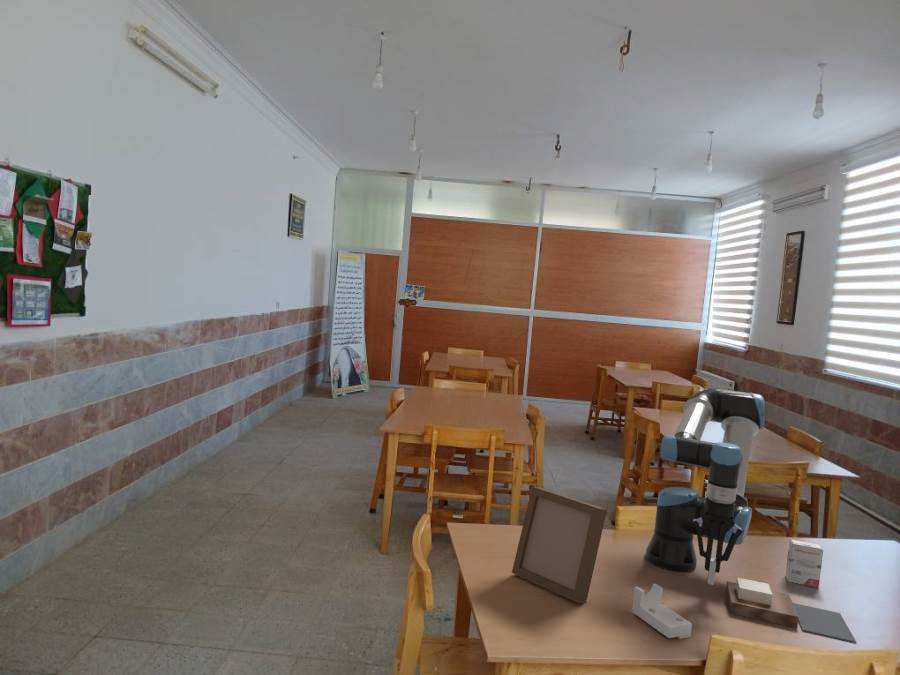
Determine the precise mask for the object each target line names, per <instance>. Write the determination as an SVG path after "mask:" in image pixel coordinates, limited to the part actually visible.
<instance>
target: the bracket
mask: <svg viewBox="0 0 900 675" xmlns="http://www.w3.org/2000/svg"><path fill="white" fill-rule="evenodd" d="M633 588H634V590H633V598H632V606H631V613H633V614H634V615H636V616H637V617H638V618H640V620H642V621H644V622H645V623H647V624H648V625H650V626H651V627H653V628H654V629H655V630H657V631H658V632H659V633H661V634H662V635H663V636H665V637H667V638H668V639H672V638H677V639H680V640H681V639H684V638H690V637H691V636H692V635H691V634H692V628H693V627H692V626H693V624H692V622H690V621H689V620H687V619H685V618H684V617H683V616H681V615H680V614H678V613H677V612H675V611H674V610H672V609H671V608H669V607H668V606H666V605H665V604H663V603H662V597H663V589H664V588H663V587H662V586H660V585H659V584H657V583H652V587H651V588H650V591H649V592H648V593H646V594H645V590H644V589H642V588H641V587H639V586H637V585H636V586H634V587H633Z"/></svg>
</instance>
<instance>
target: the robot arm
mask: <svg viewBox="0 0 900 675" xmlns="http://www.w3.org/2000/svg"><path fill="white" fill-rule="evenodd" d="M765 404H766V403H765V398H764V396H763V395H762V394H758V393H753V392H750V391H748V392H744V391H737V390H730V389H726V388H725V389H724V388H716V387H711V388H705V389H703V390H700V391H698V392H696V393H694V394H692V395H691V396H690V397H688V399H686V401H685V403H684V405H683V415H682V417H681V419H680V422H679V423H678V426H677V428H676V430H675V433H673V434H671V435H670V434H665V435H664V436H663V438H662V441H661V446H660V456H661V458H662V459H663V460H667V461H671V462H673V463H680V464H687V465H691V466H696V467H700V468H707V469H708V470H709V471H708V478H707V483H706V484H707V486H706V494H705V496H706V497H704V496H703V497H702V496H699V495H700V493H699V491H697V490H696V489H694V488H690V487H681V486H672V487H665V488H663V489H661V490H660V491H659V494H658V497H657V502H656V515H655V521H654V522H655V523H654V530H653V535H652V537H651V539H650V541H649V543H648V545H647V547H646V549H645V559H646V560H647V561H648V562H649V563H650V564H653V565H655V566H657V567H658V568H662V569H664V570H668V571H673V572H680V573H681V572H684V573H687V572H693V571H694V570H695V569H696V568H697V556H696V550H695V545H694V535H695V536H697V543H698V550H699V551H698V552H699V556H700V557H703V558H704V561H705V562H704V571H707V578H706V579H707V580H706V581H707V585H712V586H713V585H714V583H715V576H716V573H718V574H719V573H720V570H721V563H722V562H724V561H725V562H729V559H730V557H731V554H732V552H733V550H734V547H735V545H742V544H743V543H744V542H745V540H746V537H747V534H748V531H749V527H750V523H751V520H752V517H753V516H752V515H753V509H752V507H750V506H748V505H749V503H748V502H749V501H748V500H747V499H746V498H745V496H744V495H745V488H746V483H747V475H748V470H749V462H750V456H751V449H752V442H753V437H755V436H757V435H758V433H759V431H760V430H764V429H765V423H766V422H765V421H766V420H765V419H766V417H765V416H766V414H765V412H766V405H765ZM709 422H713V423H714V422H715V423H718V424H719V423H720V427H721V429H722V430H723V431H724V432H723V439H722V442H719V441H718V442H711V441H705V440H702V437H703V433H704V432H705V428H706V425H707V423H709ZM703 538H705V539H707V541H706V542H707V543H706V548H705V549H704V541H703ZM714 541H716V542H717V544H716V551H715V557H712V553H713V544H714ZM724 543H725V544H727V545H726V546H725V549H723V546H724ZM705 550H706V551H705ZM723 550H724V551H723Z"/></svg>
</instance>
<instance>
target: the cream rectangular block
mask: <svg viewBox="0 0 900 675" xmlns="http://www.w3.org/2000/svg"><path fill="white" fill-rule="evenodd" d="M735 583H736V591H737V595H738V598H739V599H744V600H748V601H753V602H757V603H762V604H767V605H771V602H772V592H771V591H772V589H771V586H770V584H769V583H766V582H761V581H755V580H751V579H746V578H742V577H736V582H735Z"/></svg>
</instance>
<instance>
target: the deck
mask: <svg viewBox="0 0 900 675" xmlns="http://www.w3.org/2000/svg"><path fill="white" fill-rule="evenodd" d="M771 592H772V602H771V605H767V604H762V603H757V602H753V601H748V600H744V599H739V598H738V595H737V591H736V582H733V581H728V580H726V584H725V594H726V599H727V603H728V609H729V613H730V614H733V615H738V616H742V617H747V618H750V619H755V620H759V621H764V622H767V623H772V624H777V625H781V626H784V627H785V626H786V627H790V628H795V629H798V626H799V622H798V620H799V616H798V614H797V612H796V609H795V607H794V605H793V603H794V602H793V600H792V598H791V596H790V594H789V593H786V592H780V591H777V590H775V591H774V590H771Z"/></svg>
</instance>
